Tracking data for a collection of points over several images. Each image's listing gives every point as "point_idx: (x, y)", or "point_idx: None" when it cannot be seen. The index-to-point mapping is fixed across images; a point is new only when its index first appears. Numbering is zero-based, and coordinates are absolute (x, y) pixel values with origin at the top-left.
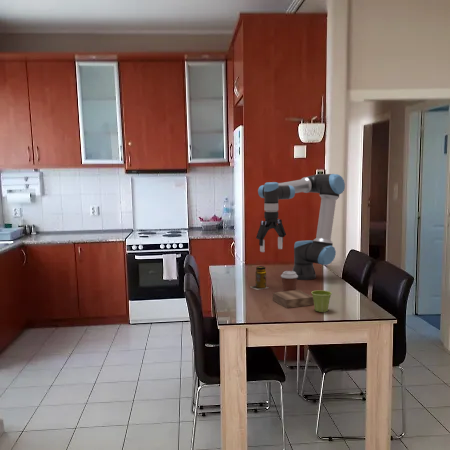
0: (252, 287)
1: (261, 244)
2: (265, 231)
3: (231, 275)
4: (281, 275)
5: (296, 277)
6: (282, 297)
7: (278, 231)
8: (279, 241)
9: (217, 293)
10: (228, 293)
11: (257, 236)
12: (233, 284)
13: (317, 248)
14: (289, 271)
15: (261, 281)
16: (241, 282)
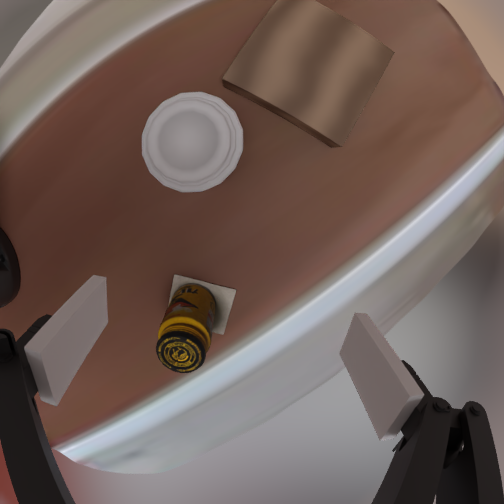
0: (220, 323)
1: (409, 369)
2: (430, 499)
3: (148, 439)
4: (226, 174)
5: (191, 93)
6: (377, 77)
7: (47, 458)
8: (74, 348)
9: None
10: (342, 332)
11: (457, 450)
12: (230, 390)
13: None
14: (162, 157)
15: (206, 303)
16: (188, 387)
